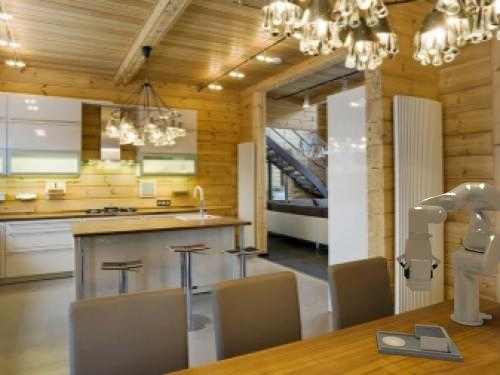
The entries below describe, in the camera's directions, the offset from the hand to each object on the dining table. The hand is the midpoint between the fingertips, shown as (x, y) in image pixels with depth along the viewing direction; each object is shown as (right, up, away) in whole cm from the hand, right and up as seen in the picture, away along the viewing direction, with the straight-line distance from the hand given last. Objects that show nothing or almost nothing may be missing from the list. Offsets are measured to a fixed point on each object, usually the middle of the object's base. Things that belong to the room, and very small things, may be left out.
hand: (418, 279), depth 148 cm
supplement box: (0, -4, 0) cm, 4 cm away
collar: (0, -22, -12) cm, 25 cm away
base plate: (-5, -24, -10) cm, 26 cm away
